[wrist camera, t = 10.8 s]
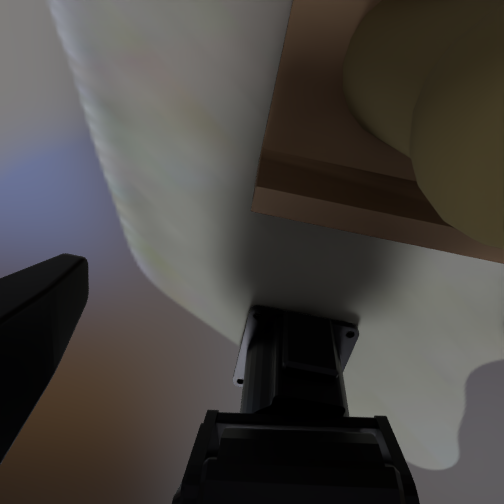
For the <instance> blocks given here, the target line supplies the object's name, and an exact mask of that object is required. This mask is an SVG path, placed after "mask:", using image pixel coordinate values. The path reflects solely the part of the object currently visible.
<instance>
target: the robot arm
mask: <svg viewBox="0 0 504 504" xmlns="http://www.w3.org/2000/svg"><path fill="white" fill-rule="evenodd" d="M88 285H89V283H88V262H87V259H86V258H85V257H82V256H77V255H72V254H66V253H65V254H61V255H59V256H56V257H53V258H51V259H48V260H46V261H43V262H41V263H38V264H35V265H33V266H30V267H28V268H26V269H23V270H20V271H18V272H15V273H13V274H10V275H8V276H5V277H3V278H0V464H1V462H2V461H3V459H4V457H5V456H6V454H7V452H8V451H9V449H10V447H11V446H12V444H13V442H14V441H15V439H16V437H17V436H18V434H19V432H20V431H21V429H22V427H23V426H24V424H25V422H26V421H27V419H28V417H29V416H30V414H31V412H32V411H33V409H34V407H35V406H36V404H37V402H38V401H39V399H40V397H41V396H42V394H43V392H44V391H45V389H46V387H47V386H48V384H49V382H50V380H51V379H52V377H53V375H54V373H55V371H56V369H57V367H58V365H59V363H60V361H61V359H62V356H63V354H64V352H65V350H66V348H67V345H68V343H69V341H70V338H71V337H72V334H73V332H74V330H75V327H76V325H77V323H78V321H79V319H80V317H81V314H82V312H83V310H84V308H85V305H86V303H87V299H88V293H89V292H88V291H89V286H88ZM255 313H260V314H261V315H255ZM349 331H352V333H347V332H349ZM358 337H359V331H358V328H357V326H356V325H354V324H351V323H346V322H341V321H336V320H331V319H327V318H322V317H317V316H311V315H306V314H301V313H296V312H291V311H286V310H281V309H276V308H270V307H265V306H260V305H255V306H253V307H251V308H250V310H249V314H248V318H247V322H246V327H245V331H244V335H243V339H242V343H241V347H240V351H239V355H238V359H237V363H236V367H235V371H234V375H233V383H234V384H235V385H236V386H239V387H243V390H242V399H241V408H240V413H227V412H219V411H218V410H207V413H206V416H205V420H204V423H201V425H200V428H199V431H198V434H197V437H196V440H195V443H194V446H193V449H192V452H191V456H190V459H189V461H188V464H187V468H186V471H185V474H184V477H183V480H182V482H181V484H180V486H179V488H178V490H177V491H176V494H175V495H174V497H173V501H172V504H420V503H419V498H418V494H417V490H416V486H415V483H414V480H413V478H412V475H411V473H410V470H409V468H408V465H407V463H406V461H405V458H404V456H403V454H402V451H401V449H400V447H399V444H398V442H397V440H396V437H395V435H394V433H393V430H392V428H391V426H390V423H389V421H388V419H387V417H386V416H374V418H372V417H349V410H348V404H347V398H346V391H345V385H344V379H343V371H344V369H345V366H346V364H347V362H348V359H349V357H350V355H351V353H352V350H353V348H354V346H355V343H356V341H357V339H358Z"/></svg>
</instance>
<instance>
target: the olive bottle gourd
mask: <svg viewBox="0 0 504 504" xmlns="http://www.w3.org/2000/svg"><path fill="white" fill-rule="evenodd" d="M343 92H344V95H345V98H346V102H347V105H348V108H349V111H350V113H351V114H352V115H353V117H354V118H355V119H356V121H357V122H358V123H359V125H360V126H361V127H362V129H364V130H365V131H367V132H368V133H370V134H372V135H373V136H375V137H376V138H378V139H379V140H381V141H382V142H384V143H386V144H387V145H389V146H391V147H392V148H394V149H396V150H397V151H399V152H401V153H402V154H404V155H406V156H407V157H409V158H411V161H412V165H413V169H414V173H415V176H416V180H417V184H418V186H419V188H420V189H421V191H422V192H423V194H424V195H425V196H426V198H427V199H428V201H429V202H430V203H431V205H432V206H433V207H434V209H435V210H436V211H437V213H438V214H439V216H440V217H441V218H442V220H443V221H445V222H446V223H448V224H449V225H451V226H453V227H454V228H456V229H457V230H459V231H461V232H462V233H464V234H465V235H467V236H469V237H470V238H472V239H474V240H476V241H478V242H480V243H481V244H483V245H488V246H492V247H496V248H501V249H504V0H381V1H380V2H379V3H378V4H377V5H376V6H375V7H374V8H373V9H371V10H370V11H369V12H368V13H367V14H366V15H365V17H364V18H363V20H362V22H361V23H360V25H359V26H358V28H357V29H356V31H355V33H354V34H353V36H352V37H351V39H350V43H349V46H348V49H347V53H346V56H345V59H344V62H343Z"/></svg>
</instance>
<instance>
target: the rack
mask: <svg viewBox="0 0 504 504" xmlns="http://www.w3.org/2000/svg"><path fill="white" fill-rule="evenodd" d="M380 1H381V0H293V3H292V7H291V12H290V17H289V22H288V26H287V31H286V36H285V41H284V45H283V50H282V55H281V60H280V64H279V69H278V74H277V78H276V83H275V88H274V93H273V97H272V102H271V107H270V112H269V116H268V121H267V126H266V130H265V135H264V140H263V145H262V149H261V154H260V159H259V164H258V170H257V176H256V183H255V189H254V195H253V201H252V207H251V211H252V212H257V213H261V214H266V215H271V216H276V217H281V218H286V219H290V220H295V221H300V222H305V223H310V224H314V225H319V226H324V227H329V228H334V229H339V230H343V231H348V232H353V233H358V234H363V235H368V236H372V237H377V238H382V239H387V240H392V241H397V242H401V243H406V244H411V245H416V246H421V247H426V248H430V249H435V250H440V251H445V252H450V253H454V254H459V255H464V256H469V257H474V258H479V259H483V260H488V261H493V262H498V263H503V264H504V249H501V248H496V247H492V246H488V245H483V244H481V243H480V242H478V241H476V240H474V239H472V238H470V237H469V236H467V235H465V234H464V233H462V232H461V231H459V230H457V229H456V228H454V227H453V226H451V225H449V224H448V223H446V222H445V221H443V220H442V218H441V217H440V216H439V214H438V213H437V211H436V210H435V209H434V207H433V206H432V205H431V203H430V202H429V201H428V199H427V198H426V196H425V195H424V194H423V192H422V191H421V189H420V188H419V186H418V184H417V180H416V176H415V173H414V169H413V165H412V161H411V158H409V157H407V156H406V155H404V154H402V153H401V152H399V151H397V150H396V149H394V148H392V147H391V146H389V145H387V144H386V143H384V142H382V141H381V140H379V139H378V138H376V137H375V136H373V135H372V134H370V133H368V132H367V131H365V130H364V129H362V127H361V126H360V125H359V123H358V122H357V121H356V119H355V118H354V117H353V115H352V114H351V113H350V111H349V108H348V105H347V102H346V98H345V95H344V92H343V62H344V59H345V56H346V53H347V49H348V46H349V43H350V39H351V37H352V36H353V34H354V33H355V31H356V29H357V28H358V26H359V25H360V23H361V22H362V20H363V18H364V17H365V15H366V14H367V13H368V12H369V11H370V10H371V9H373V8H374V7H375V6H376V5H377V4H378V3H379V2H380Z"/></svg>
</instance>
